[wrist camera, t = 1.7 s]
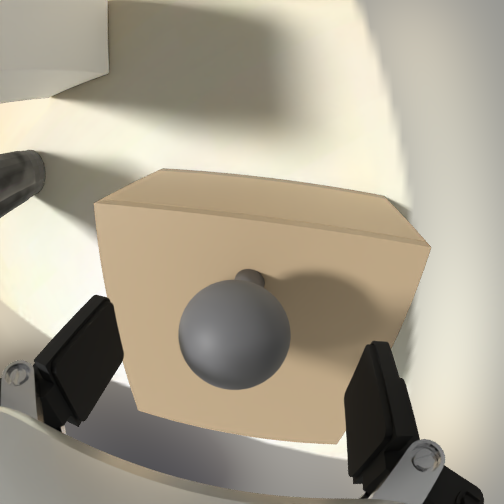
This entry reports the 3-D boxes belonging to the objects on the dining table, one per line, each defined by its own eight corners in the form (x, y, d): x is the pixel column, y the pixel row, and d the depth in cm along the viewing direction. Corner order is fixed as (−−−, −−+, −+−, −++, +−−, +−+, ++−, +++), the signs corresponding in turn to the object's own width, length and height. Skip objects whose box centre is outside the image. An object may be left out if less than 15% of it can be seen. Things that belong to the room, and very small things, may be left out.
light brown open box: (162, 168, 21) (101, 199, 14) (383, 195, 20) (425, 241, 12) (171, 343, 29) (141, 404, 21) (332, 368, 27) (336, 437, 20)
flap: (100, 199, 14) (11, 253, 8) (426, 242, 12) (490, 325, 7) (140, 404, 21) (112, 465, 16) (336, 438, 20) (337, 506, 14)
